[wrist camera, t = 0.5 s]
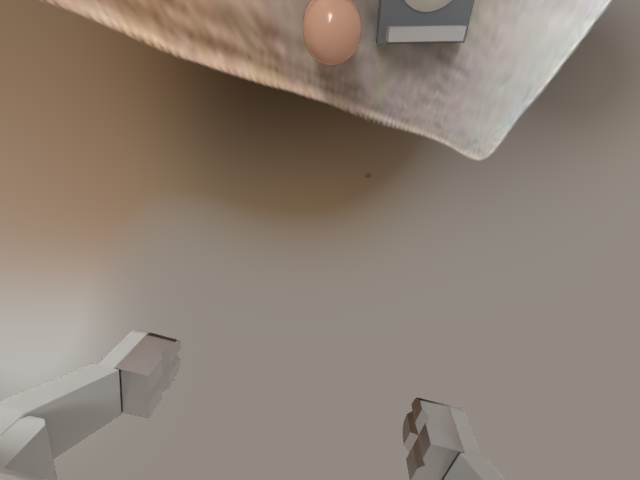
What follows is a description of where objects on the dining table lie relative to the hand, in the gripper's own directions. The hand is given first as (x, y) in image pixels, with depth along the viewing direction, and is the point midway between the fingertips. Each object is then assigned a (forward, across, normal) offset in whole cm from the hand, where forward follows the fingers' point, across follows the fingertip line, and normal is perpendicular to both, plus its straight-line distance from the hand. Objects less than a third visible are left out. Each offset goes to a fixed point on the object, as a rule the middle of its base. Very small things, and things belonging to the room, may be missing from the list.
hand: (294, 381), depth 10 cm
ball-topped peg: (+43, +6, -19) cm, 48 cm away
